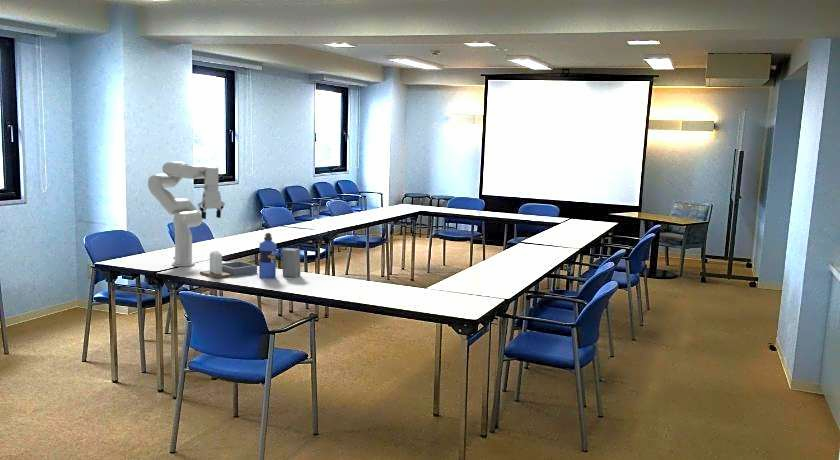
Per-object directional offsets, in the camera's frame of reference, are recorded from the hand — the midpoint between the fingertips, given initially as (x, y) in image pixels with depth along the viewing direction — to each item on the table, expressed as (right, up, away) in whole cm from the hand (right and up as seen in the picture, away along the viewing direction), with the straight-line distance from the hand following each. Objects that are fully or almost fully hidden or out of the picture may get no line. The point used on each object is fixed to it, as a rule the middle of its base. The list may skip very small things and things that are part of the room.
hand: (211, 218), depth 401 cm
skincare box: (+46, -33, -1) cm, 57 cm away
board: (+5, -32, -9) cm, 34 cm away
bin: (+14, -31, +2) cm, 34 cm away
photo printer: (+5, -31, -9) cm, 33 cm away
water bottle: (+33, -34, -6) cm, 48 cm away
